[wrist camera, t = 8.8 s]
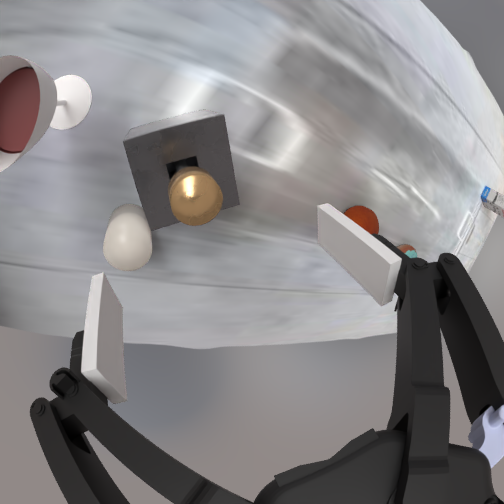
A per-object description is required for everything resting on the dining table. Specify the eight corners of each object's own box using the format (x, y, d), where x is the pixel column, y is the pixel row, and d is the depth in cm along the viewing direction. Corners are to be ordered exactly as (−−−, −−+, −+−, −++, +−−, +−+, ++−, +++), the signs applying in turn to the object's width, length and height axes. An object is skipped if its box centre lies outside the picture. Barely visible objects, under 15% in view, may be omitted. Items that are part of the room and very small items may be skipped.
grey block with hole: (149, 196, 42) (150, 231, 32) (130, 129, 35) (123, 141, 26) (216, 176, 44) (239, 204, 34) (204, 109, 37) (224, 114, 28)
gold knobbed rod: (158, 185, 39) (167, 250, 24) (145, 139, 35) (143, 173, 20) (205, 171, 41) (244, 226, 26) (195, 125, 37) (231, 149, 22)
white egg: (117, 248, 44) (114, 276, 38) (102, 212, 40) (95, 235, 34) (155, 236, 45) (158, 262, 39) (143, 198, 41) (142, 219, 35)
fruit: (357, 238, 62) (379, 257, 55) (326, 237, 58) (348, 257, 52) (370, 202, 57) (394, 218, 51) (339, 197, 54) (364, 214, 48)
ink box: (480, 195, 74) (505, 210, 65) (485, 184, 73) (510, 198, 64) (484, 206, 79) (506, 221, 70) (489, 196, 78) (512, 210, 68)
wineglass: (107, 94, 31) (63, 94, 14) (64, 145, 32) (-3, 197, 15) (69, 59, 26) (0, 35, 9) (27, 111, 27) (-60, 139, 10)
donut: (373, 268, 70) (383, 277, 67) (402, 234, 67) (412, 241, 64) (389, 284, 76) (397, 292, 73) (414, 253, 74) (423, 260, 71)
